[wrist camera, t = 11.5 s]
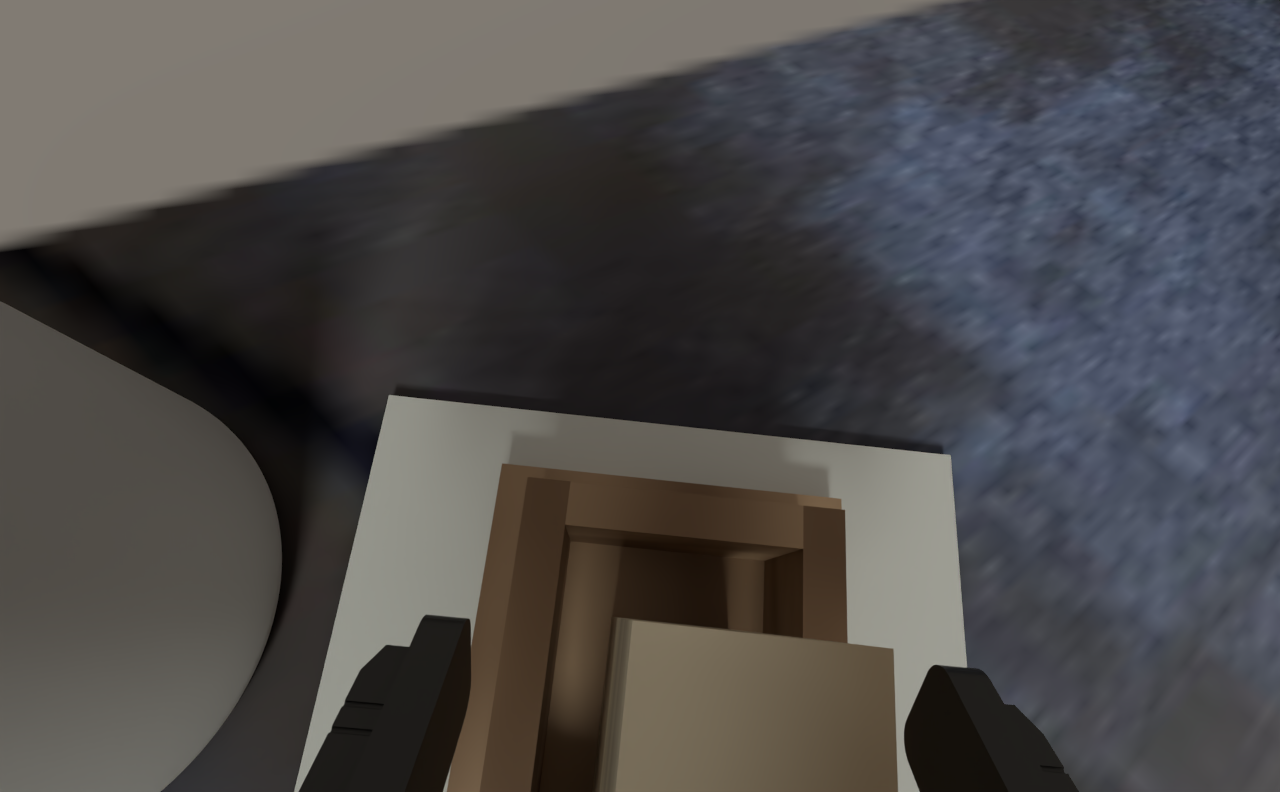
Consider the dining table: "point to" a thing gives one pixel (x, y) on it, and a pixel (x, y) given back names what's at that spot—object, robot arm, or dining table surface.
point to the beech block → (743, 712)
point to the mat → (488, 436)
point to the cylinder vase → (120, 570)
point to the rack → (623, 602)
